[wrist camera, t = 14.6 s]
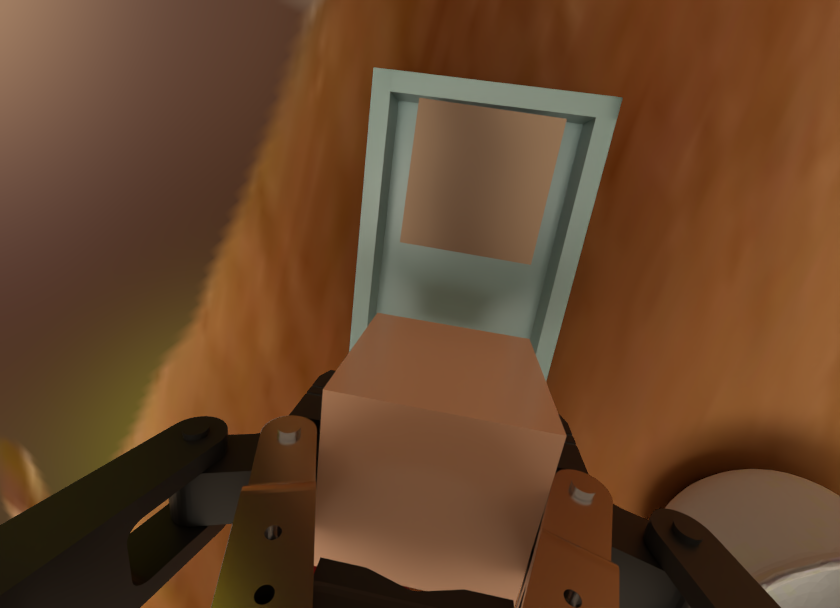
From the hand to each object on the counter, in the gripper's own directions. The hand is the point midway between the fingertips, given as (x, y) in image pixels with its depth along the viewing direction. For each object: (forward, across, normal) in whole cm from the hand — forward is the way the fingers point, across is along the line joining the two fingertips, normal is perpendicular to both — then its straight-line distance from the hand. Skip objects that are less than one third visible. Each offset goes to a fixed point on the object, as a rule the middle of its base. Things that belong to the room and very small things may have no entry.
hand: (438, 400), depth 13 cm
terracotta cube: (0, 0, 0) cm, 0 cm away
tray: (+9, 0, -3) cm, 10 cm away
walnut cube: (+8, 0, -7) cm, 11 cm away
